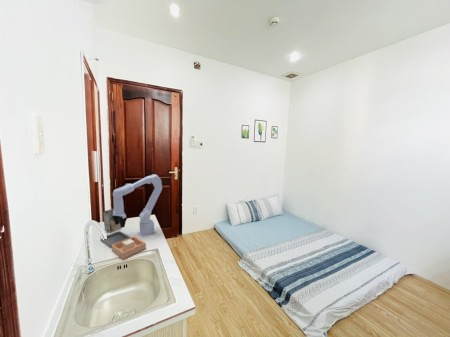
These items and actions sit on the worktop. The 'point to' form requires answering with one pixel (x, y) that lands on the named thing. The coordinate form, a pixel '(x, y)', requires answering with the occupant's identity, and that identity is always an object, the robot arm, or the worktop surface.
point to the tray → (114, 238)
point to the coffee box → (110, 221)
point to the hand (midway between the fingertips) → (120, 225)
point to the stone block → (128, 244)
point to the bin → (125, 254)
